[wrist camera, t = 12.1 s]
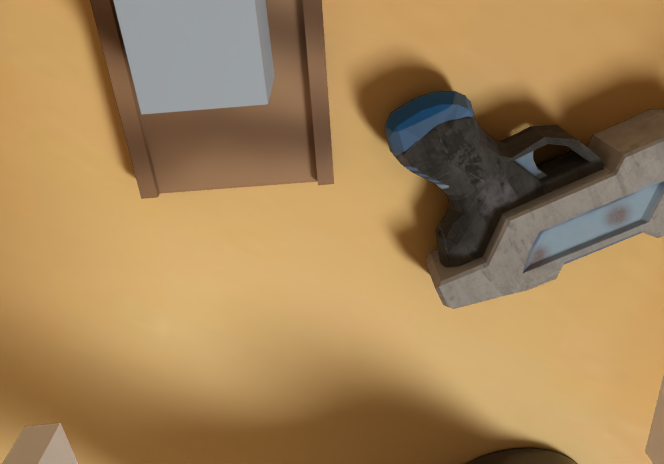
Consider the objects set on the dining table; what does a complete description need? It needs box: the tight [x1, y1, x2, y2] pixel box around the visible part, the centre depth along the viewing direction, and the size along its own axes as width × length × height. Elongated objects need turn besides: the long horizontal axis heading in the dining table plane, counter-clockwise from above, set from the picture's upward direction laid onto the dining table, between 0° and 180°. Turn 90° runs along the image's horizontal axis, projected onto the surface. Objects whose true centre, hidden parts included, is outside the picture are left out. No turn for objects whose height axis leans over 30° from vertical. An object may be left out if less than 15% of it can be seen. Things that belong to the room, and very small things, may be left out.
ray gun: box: [385, 91, 664, 309], centre depth 33 cm, size 4×19×15 cm
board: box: [90, 0, 334, 199], centre depth 29 cm, size 19×12×2 cm, turn 4°
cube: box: [113, 0, 274, 114], centre depth 26 cm, size 6×6×6 cm
